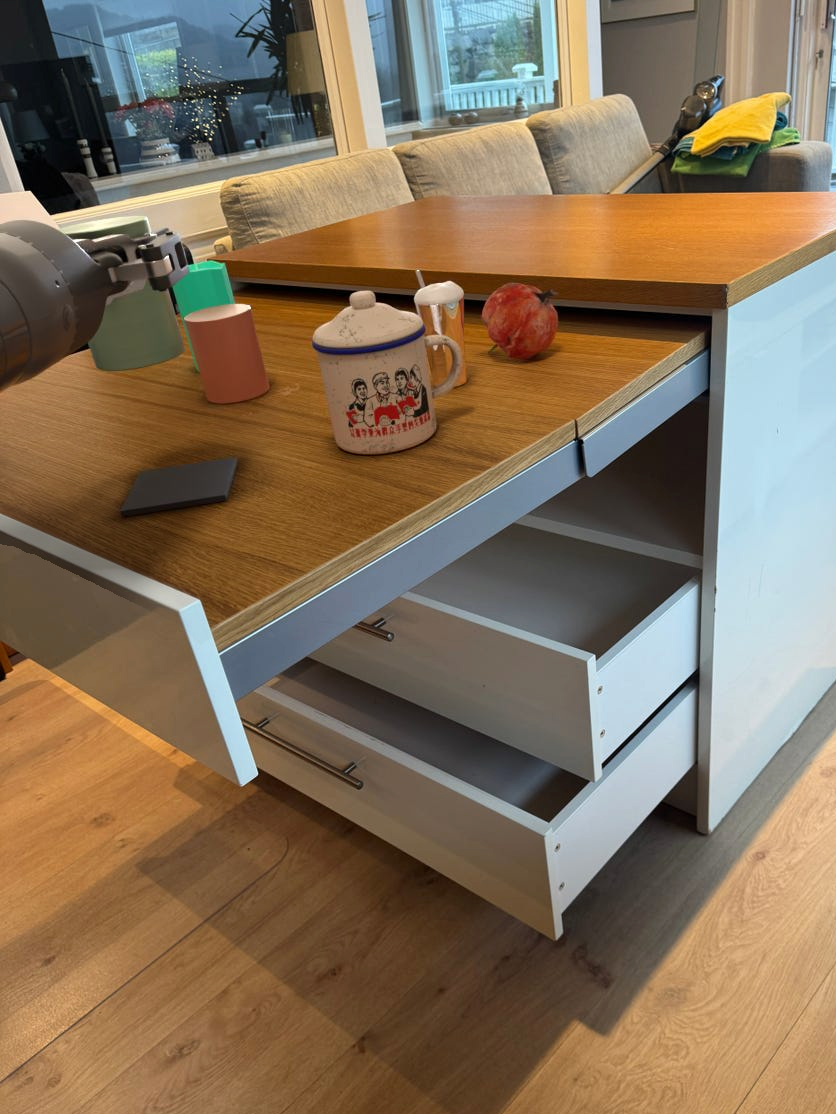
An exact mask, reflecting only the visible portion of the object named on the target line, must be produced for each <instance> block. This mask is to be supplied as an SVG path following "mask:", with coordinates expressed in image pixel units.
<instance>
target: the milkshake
mask: <svg viewBox="0 0 836 1114" xmlns="http://www.w3.org/2000/svg"><path fill="white" fill-rule="evenodd" d="M415 275H416V278H417V280H418V283H419V286H420V289H418V290H417V292H416V293H415V295H414V297H413V302H414V306H415V308H416V309H415V310H416V313H417V314H416V315H418V316H419V317H420V318H421V319H422V321H423V324H424V325H425V327H426V330H425V332H424V334H423V335H424V337H426V336H431V335H444V336H447V337H449V338H451V339H452V340H454V341H455V342H456V343H457V344H458V346H459V348H460V350H461V353H462V370H461V374H460V377H459V380H458V382H457V383H456V385H455V386H454V388H456V387H461V386H462V385H464V384H466V383H467V363H466V362H467V361H466V343H465V342H466V341H465V298H464V295H465V293H464V290H463V288H462V287H461V286H459V284H457V283H455V282H453V281H451V280H447V281H445V282H438V283H431V284H429V285H427V286H426V285H425V282H424V279H423V276H422V273H421V271H420V269H417V270H415ZM425 349H426V356H427V362H428V367H429V371H430V375H431V379H432V384H433V386H434V387H437V386H439V385H440V384H442V383H443V382H444V381H445V380H446V379H447V377H448V375H449V373H450V370H451V366H452V354H451V351H450V349H449V347H448V346H446V345H434V346H430V347H426V348H425Z"/></svg>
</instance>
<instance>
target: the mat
mask: <svg viewBox="0 0 836 1114" xmlns="http://www.w3.org/2000/svg"><path fill="white" fill-rule="evenodd" d="M238 463H239V462H238V458H237V456H232V457H226V458H225V457H224V458H220V459H219V458H218V459H213V460H206V461H199V462H194V463H187V464H181V465H175V466H167V467H160V468H154V469H148V470H141V471H139V473H138V475H137V477H136V479H135V481H134V483H133V484H132V486H131V488H130V490H129V493H128V495H127V496H126V498H125V500H124V502H123V504H122V505H121V508H120V510H119V513H120V516H121V517H122V518H125V517H131V516H137V515H144V514H149V513H157V512H161V511H168V510H169V511H171V510H175V509H181V508H182V509H183V508H187V507H188V508H189V507H195V506H201V505H207V504H213V503H220V502H225V501H226V502H227V500H228V498H229V494H230V490H231V487H232V484H233V480H234V476H235V473H236V469H237V465H238Z"/></svg>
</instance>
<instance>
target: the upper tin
mask: <svg viewBox="0 0 836 1114" xmlns="http://www.w3.org/2000/svg"><path fill="white" fill-rule="evenodd" d="M56 229H57V228H56ZM57 230H59V231H61V232H62V233H64V234H66V235H67V236H68V237H70V238H71V239H72V240H76V239H91V240H94V239H97V238H101V237H105V236H109V235H118V234H127V235H129V236H130V237H131V238H136V237H139V236H143V234H144V233H150V232H152V228H151V226H150V221H149V219H148V217H147V216H145V215H129V216H127V215H126V216H119V217H111V218H104V219H103V218H102V219H99V220H92V221H87V222H82V223H76V224H73V225H68V226H64V227H61V228H58V229H57ZM102 250H105V251H107V252H110V253H113V254H114V252H113V250H112V249H111V248H110V247H109V248H106V249H102ZM135 253H136V257H137V259H140V258H141V256H140V252H139V249H138V248H137V249H136V251H135ZM87 344H88V348H89V350H90V353H91V357H92V359H93V362H94V365H95V367H96V369H98V370H100V371H105V372H123V371H132V370H139V369H143V368H149V367H152V366H155V365H159V364H162V363H166V362H168V361H171V360H174V359H176V358H178V357H179V356H181V355H183V354H184V352H186V346H185V343H184V339H183V336H182V333H181V329H180V325H179V322H178V319H177V315H176V312H175V309H174V305H173V301H172V298H171V294H170V290H169V288H168V289H167V291H163V292H159V290H157V291H154V290H153V289H152V287H150V285H149V282H148V280H146V281H145V287H144V289H143V290H141V291H137V292H134V293H131V294H128V295H125V296H122V297H119V298H116V299H114V300H113V301H112V303H111V304H110V305H108V306H105V310H104V315H103V319H102V322H101V325H100V327H99V329H98V331H97V332H96V334H95V335H94V337H93V338H92V339H91V340H90V341H89V342H88V343H87Z"/></svg>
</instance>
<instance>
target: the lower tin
mask: <svg viewBox="0 0 836 1114" xmlns="http://www.w3.org/2000/svg"><path fill="white" fill-rule="evenodd" d="M184 321H185V324H186V328H187V331H188V335H189V338H190V341H191V345H192V348H193V352H194V355H195V359H196V362H197V366H198V369H199V372H198V373H199V376H200V379H201V383H202V387H203V390H204V393H205V396H206V397H205V398H206V400H207V401H208V402H210V403H212V404H218V405H220V404H221V405H222V404H225V405H227V404H234V403H240V402H241V403H242V402H246V401H249V400H252V399H255V398H258V397H260V396H263V395H264V394H266V393H267V392H268V391H269V390H270V388H271V387H270V386H271V385H270V382H269V378H268V375H267V374H268V373H267V370H266V366H265V361H264V358H263V353H262V350H261V346H260V342H259V337H258V333H257V328H256V325H255V321H254V317H253V312H252V309H251V306H250V305H248V304H244V303H235V304H228V305H220V306H214V307H209V308H205V309H201V310H198V311H195V312H193V313H190V314H188V315H187V316H185V318H184Z"/></svg>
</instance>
